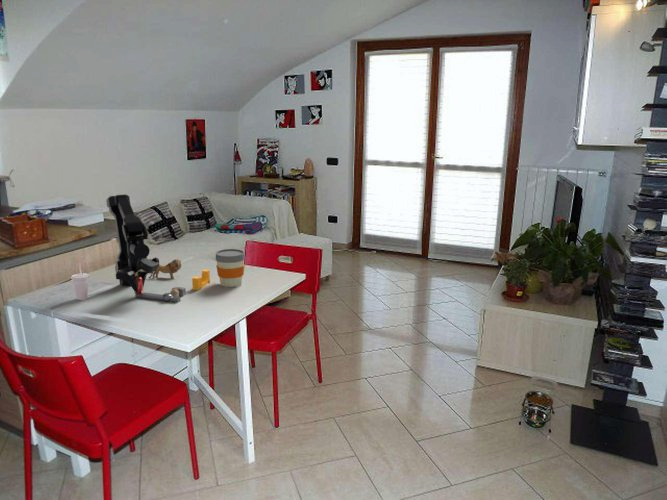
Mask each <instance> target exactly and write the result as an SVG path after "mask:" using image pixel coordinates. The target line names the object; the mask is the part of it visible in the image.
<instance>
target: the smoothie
mask: <svg viewBox="0 0 667 500" xmlns="http://www.w3.org/2000/svg"><path fill="white" fill-rule="evenodd" d="M78 266H79V267H78V268H79V273H75V274H73V275H71V278H70V279H71V280H72V285H73V287H74V292H75V295H76V298H77V300H78V301H85V300H87V299H88V297H89V278H90V275H89V273H84V272H83V273H82V265H81V264H79V265H78Z"/></svg>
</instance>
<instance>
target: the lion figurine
mask: <svg viewBox="0 0 667 500" xmlns="http://www.w3.org/2000/svg"><path fill="white" fill-rule="evenodd" d="M159 265H160V266H158V267H157V270H156V271H154V272H153V273H150V276H149V277H148V279H151V278H153V279H156V280H158V279H160V278H159V277H158V276H159V274H160V272H161V273H162V274H169V277H170V280H175V277H174V274H175V273H178V271H179V270H181V269H182V261H181V260H180V259H179V258H176V259H174V260H172V261H170V262H169V263H167V264H166V265H165V264H164V265H162V264H159Z"/></svg>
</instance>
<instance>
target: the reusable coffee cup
mask: <svg viewBox="0 0 667 500" xmlns="http://www.w3.org/2000/svg"><path fill="white" fill-rule="evenodd" d="M245 255H246V254H245V251H244V250H242V249H240V248H239V249H238V248H237V249H236V248H225V249H220V250H217V251H216V252H215V262H216V271H217V276H218V277H219V284H220V286H222V287H226V288H230V287H231V288H234V287H239V288H240V287H242V284H243V277H244V274H245V266H246V265H245V260H246V257H245Z"/></svg>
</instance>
